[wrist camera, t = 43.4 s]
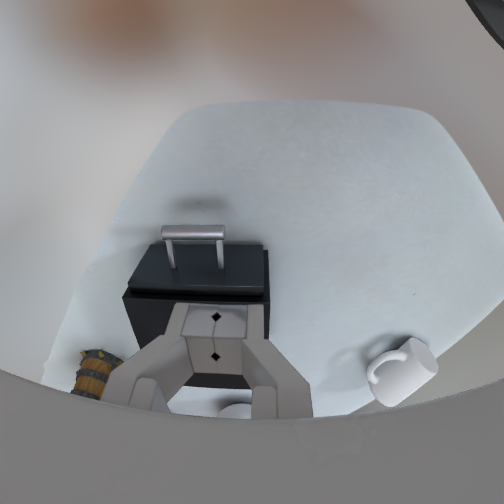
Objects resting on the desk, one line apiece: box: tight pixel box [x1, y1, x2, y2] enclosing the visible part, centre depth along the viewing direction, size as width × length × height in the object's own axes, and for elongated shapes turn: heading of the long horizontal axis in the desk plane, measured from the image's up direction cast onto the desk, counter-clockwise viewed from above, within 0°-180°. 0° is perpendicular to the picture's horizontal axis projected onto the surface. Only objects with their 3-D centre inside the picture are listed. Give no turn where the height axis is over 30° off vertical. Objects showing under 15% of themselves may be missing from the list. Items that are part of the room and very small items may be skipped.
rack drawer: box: [128, 225, 264, 297], centre depth 33 cm, size 18×13×8 cm
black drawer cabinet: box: [122, 250, 270, 389], centre depth 35 cm, size 15×15×10 cm
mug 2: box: [366, 338, 438, 407], centre depth 42 cm, size 12×10×8 cm
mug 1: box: [70, 350, 123, 401], centre depth 40 cm, size 13×17×20 cm
